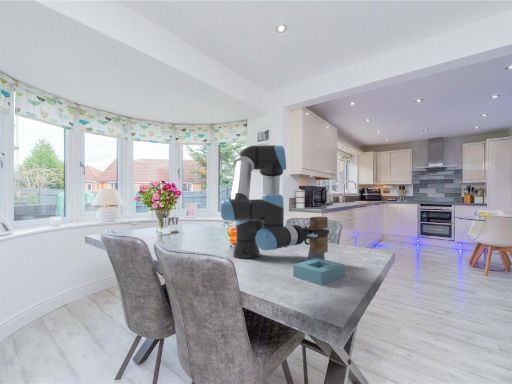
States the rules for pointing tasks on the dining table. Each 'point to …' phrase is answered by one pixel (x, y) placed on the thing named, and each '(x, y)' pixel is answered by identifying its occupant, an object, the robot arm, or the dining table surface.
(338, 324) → the dining table surface
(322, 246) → the walnut board
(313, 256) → the moka pot
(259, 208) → the robot arm
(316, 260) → the slotted base
